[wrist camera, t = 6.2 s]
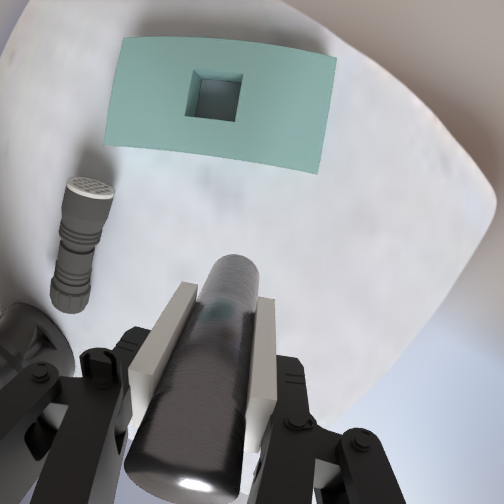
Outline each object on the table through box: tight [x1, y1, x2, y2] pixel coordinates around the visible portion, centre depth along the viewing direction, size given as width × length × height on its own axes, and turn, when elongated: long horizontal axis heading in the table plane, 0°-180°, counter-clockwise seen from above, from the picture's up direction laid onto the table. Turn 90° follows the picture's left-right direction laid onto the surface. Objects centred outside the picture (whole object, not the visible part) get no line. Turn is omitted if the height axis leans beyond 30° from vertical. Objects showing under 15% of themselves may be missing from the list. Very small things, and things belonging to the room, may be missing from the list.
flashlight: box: [50, 177, 115, 314], centre depth 31 cm, size 15×5×5 cm, turn 157°
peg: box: [124, 254, 259, 504], centre depth 13 cm, size 3×3×14 cm
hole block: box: [104, 37, 337, 174], centre depth 27 cm, size 20×11×4 cm, turn 81°
